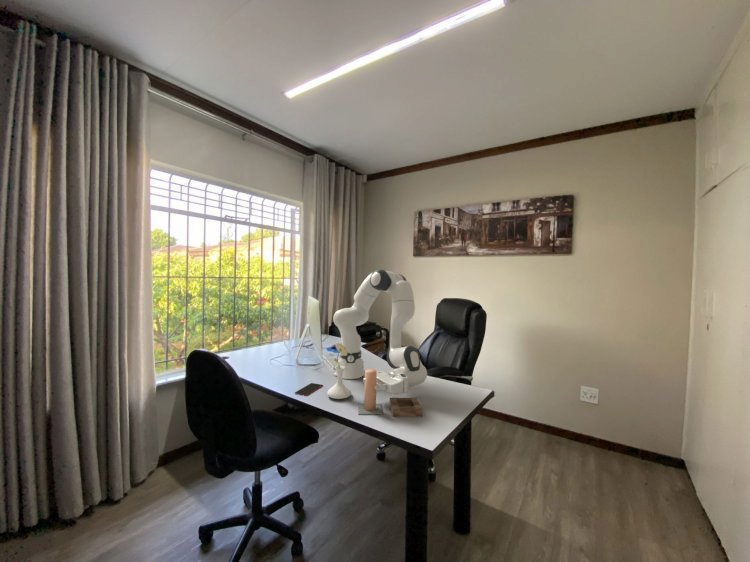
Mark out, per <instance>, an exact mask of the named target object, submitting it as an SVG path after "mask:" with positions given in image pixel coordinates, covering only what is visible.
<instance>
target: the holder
mask: <svg viewBox="0 0 750 562" xmlns="http://www.w3.org/2000/svg"><path fill="white" fill-rule="evenodd" d="M389 407H391V408H390V411H391V415H392V417H393V418H402V417H404V418H405V417H406V418H408V417H411V418H413V417H414V418H415V417H419V416H420V417H423V408H422V405H421V403H420V401H419V400H418V397H389Z"/></svg>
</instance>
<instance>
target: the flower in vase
mask: <svg viewBox="0 0 750 562" xmlns="http://www.w3.org/2000/svg"><path fill="white" fill-rule="evenodd" d="M334 345H335V349H336V351H338V353H337V356H336V357H334V359H333V361H335V362H336V364H337V363H338V361H339V359H338V358H339V355H340V354H342V355H344V356H346V355H347V353H348V352H347V350H346V347H344V346H343V345H342V343H340V342H338V341H337V342H336V343H335V344H334ZM343 362H344V361H343ZM341 363H342V362H341ZM341 363H338V364H337V366H335V367H334V369H335V370H336V371H337V376H336V377H337V380H336V383H335V384H334V385H333V386H331V387H330V388H329V389H328V390H327V393H326V394H327V396H328V397H330V398H331V399H334V400H335V399H336V400H344V399H348V398H349V397H350V396H351V395H352V390H351V388H349V387H348V386H347V385H346V384H344V382H343V378H342V374H343V371H344V369H345V367H344V366H338V365H339V364H341ZM336 371H335V372H336Z"/></svg>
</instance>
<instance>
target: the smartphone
mask: <svg viewBox="0 0 750 562" xmlns="http://www.w3.org/2000/svg"><path fill="white" fill-rule="evenodd" d="M322 386H323V387H324V385H323V384H319V383H314V382H311V383H309V384H306V385H305V386H304V387H302V388H300V389H299V390H297V391H295V392H294V394H295V395H298V394H299V396H303V395H304V396H303V397H309V395H310V396H311V393H312V394H313V393H316V392H317V391H318V390H319V388H320V389H321V388H322Z"/></svg>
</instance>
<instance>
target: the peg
mask: <svg viewBox="0 0 750 562" xmlns="http://www.w3.org/2000/svg"><path fill="white" fill-rule="evenodd" d="M364 371H365V376H364V378H365V383H364V392H363V393H364V399H363V400H364V401H363V404H364V409H365V410H367V411H374V410H375V409H376V404H377V390H376V389H374V385H376V382H377V371H378V370H376V369H371V368H370V369H364Z"/></svg>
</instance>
